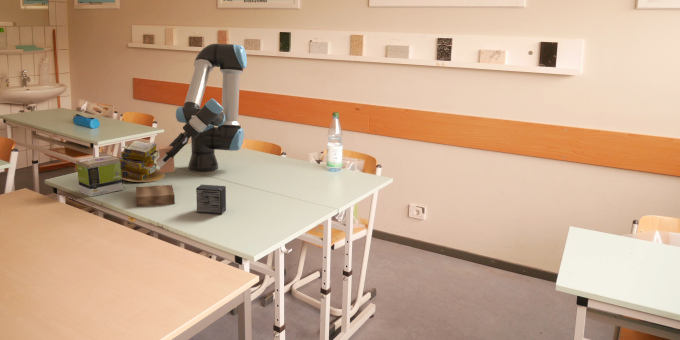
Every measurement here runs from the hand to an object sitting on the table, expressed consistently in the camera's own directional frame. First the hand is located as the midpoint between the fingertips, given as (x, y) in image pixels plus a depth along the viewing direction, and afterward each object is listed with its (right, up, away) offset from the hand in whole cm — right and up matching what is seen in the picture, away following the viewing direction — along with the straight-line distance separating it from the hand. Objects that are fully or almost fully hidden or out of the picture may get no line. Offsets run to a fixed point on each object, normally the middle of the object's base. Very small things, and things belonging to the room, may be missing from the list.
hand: (158, 164), depth 243 cm
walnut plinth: (+3, -15, -13) cm, 20 cm away
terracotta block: (+3, -3, +2) cm, 5 cm away
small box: (+30, -20, -24) cm, 43 cm away
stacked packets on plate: (-17, -6, +20) cm, 27 cm away
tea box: (-24, -12, -5) cm, 27 cm away
